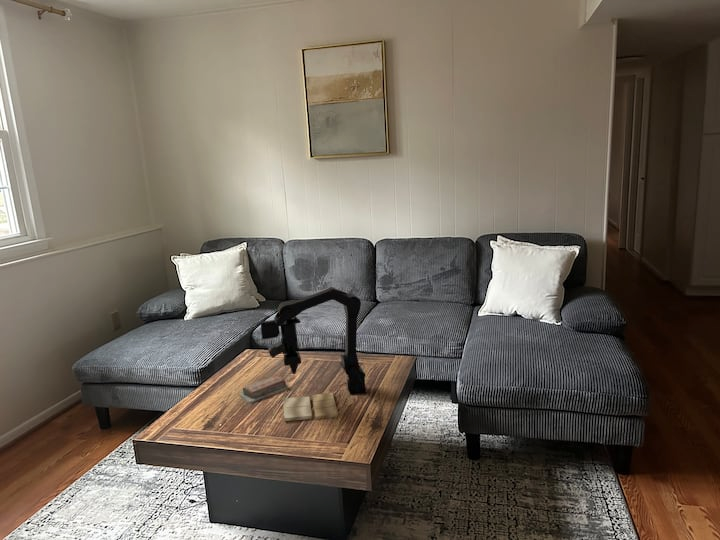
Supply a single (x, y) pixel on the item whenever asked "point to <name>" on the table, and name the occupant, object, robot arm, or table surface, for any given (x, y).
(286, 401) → the beige grooved panel
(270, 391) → the packaged product
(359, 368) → the robot arm
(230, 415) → the table surface
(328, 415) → the laid board
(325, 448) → the table surface
